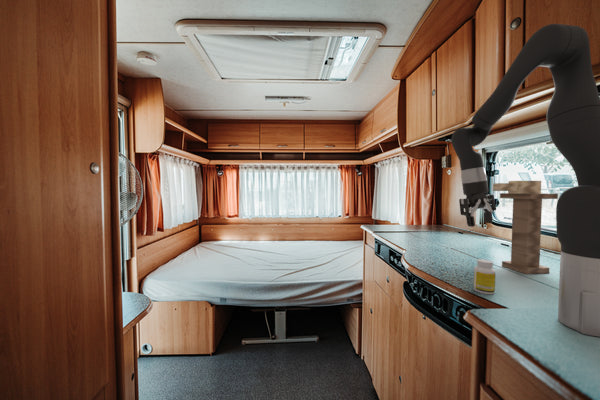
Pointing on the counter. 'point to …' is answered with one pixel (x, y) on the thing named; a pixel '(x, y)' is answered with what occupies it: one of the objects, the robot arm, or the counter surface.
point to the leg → (519, 187)
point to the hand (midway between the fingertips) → (480, 224)
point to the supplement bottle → (484, 277)
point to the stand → (526, 232)
